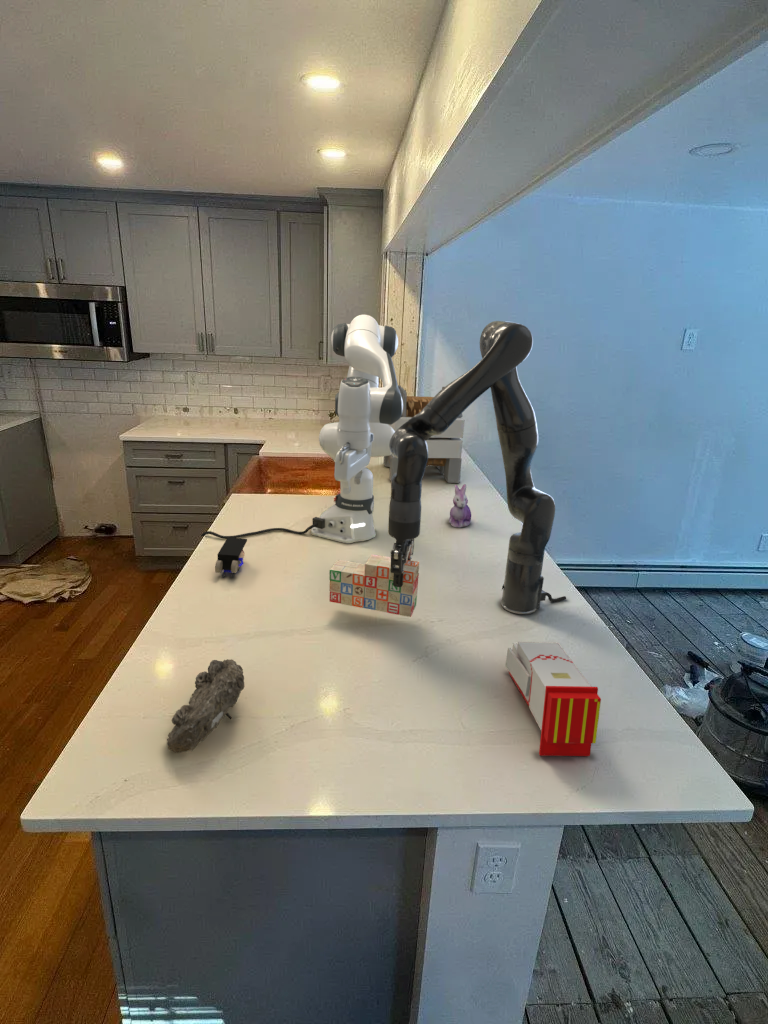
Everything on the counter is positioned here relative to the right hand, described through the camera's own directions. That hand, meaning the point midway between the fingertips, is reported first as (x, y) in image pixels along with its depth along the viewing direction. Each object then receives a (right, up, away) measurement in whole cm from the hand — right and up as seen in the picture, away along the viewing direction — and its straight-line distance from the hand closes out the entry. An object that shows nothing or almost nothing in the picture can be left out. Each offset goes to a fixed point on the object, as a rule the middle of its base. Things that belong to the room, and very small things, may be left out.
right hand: (401, 579), depth 138 cm
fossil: (-37, -23, -30) cm, 53 cm away
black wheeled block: (-49, -1, +29) cm, 57 cm away
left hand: (-13, +23, +19) cm, 33 cm away
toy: (+28, -23, -23) cm, 43 cm away
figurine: (+24, +12, +74) cm, 79 cm away
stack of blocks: (-7, -7, +4) cm, 11 cm away
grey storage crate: (+13, +35, +137) cm, 142 cm away
